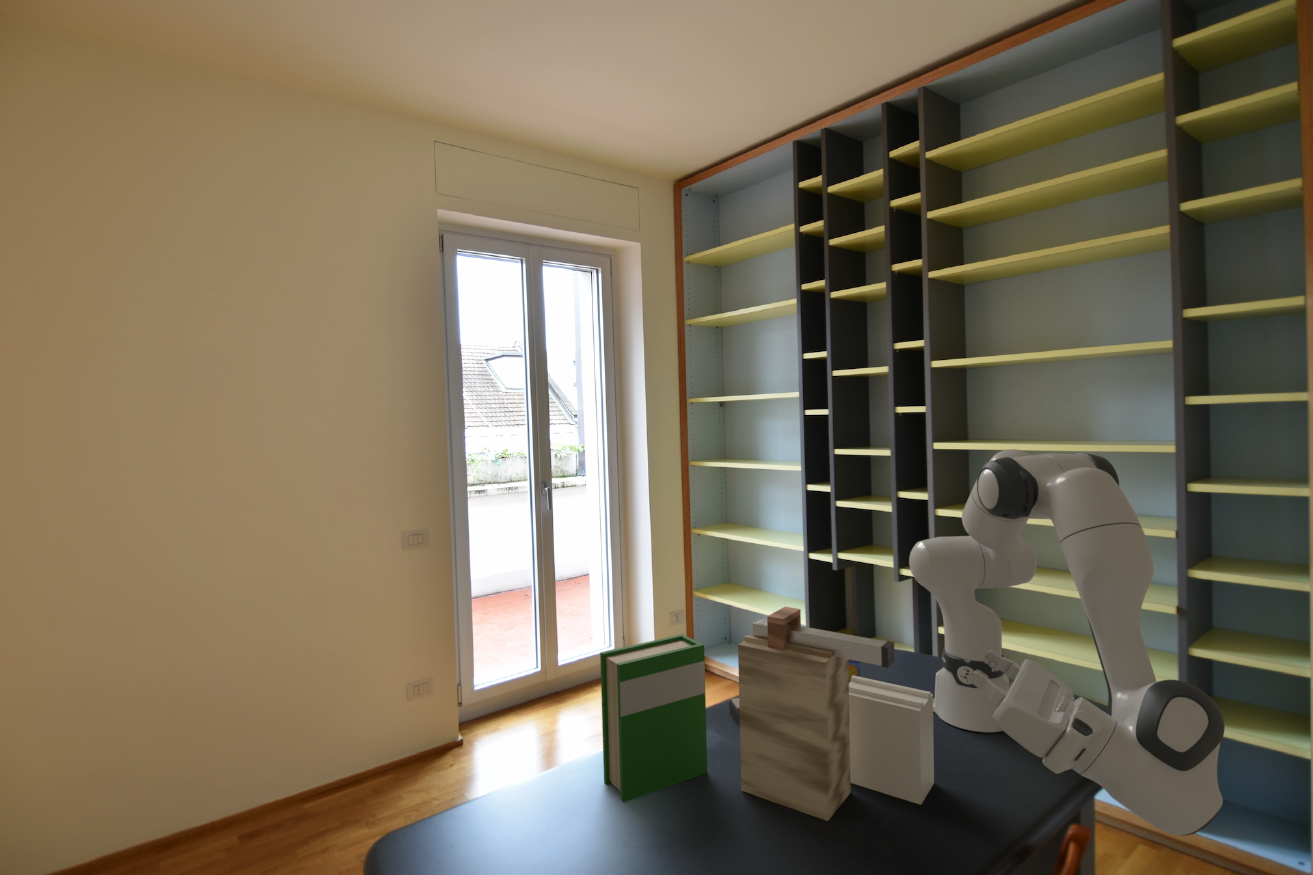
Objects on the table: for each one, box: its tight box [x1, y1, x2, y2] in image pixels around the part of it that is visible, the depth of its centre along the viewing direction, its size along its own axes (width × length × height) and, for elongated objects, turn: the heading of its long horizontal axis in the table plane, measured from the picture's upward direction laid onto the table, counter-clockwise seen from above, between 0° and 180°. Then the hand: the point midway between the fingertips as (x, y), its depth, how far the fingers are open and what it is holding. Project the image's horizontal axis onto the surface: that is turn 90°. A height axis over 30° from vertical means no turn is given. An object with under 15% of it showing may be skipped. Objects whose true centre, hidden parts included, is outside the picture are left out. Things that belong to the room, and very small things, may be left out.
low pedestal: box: [849, 676, 935, 806], centre depth 121 cm, size 8×14×17 cm, turn 53°
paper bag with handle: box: [737, 606, 852, 822], centre depth 119 cm, size 10×16×31 cm, turn 53°
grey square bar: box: [751, 618, 895, 669], centre depth 115 cm, size 3×24×3 cm, turn 53°
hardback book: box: [599, 633, 708, 803], centre depth 125 cm, size 18×7×24 cm, turn 121°
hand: (979, 664), depth 100 cm, fingers open, 8 cm apart
